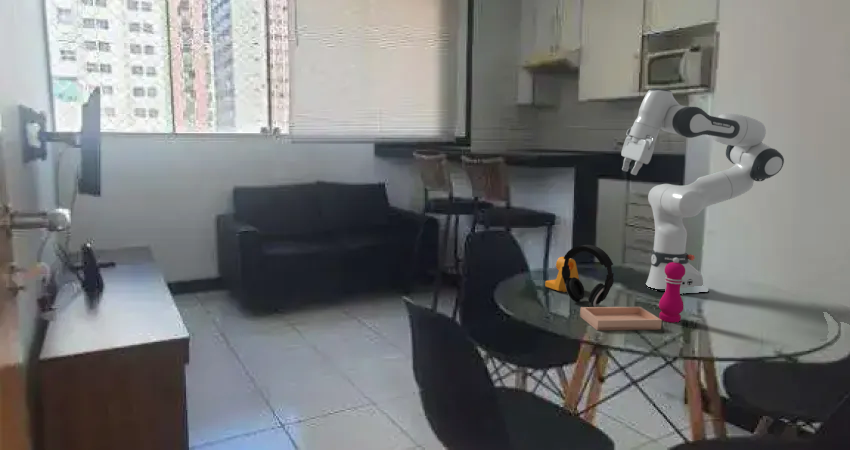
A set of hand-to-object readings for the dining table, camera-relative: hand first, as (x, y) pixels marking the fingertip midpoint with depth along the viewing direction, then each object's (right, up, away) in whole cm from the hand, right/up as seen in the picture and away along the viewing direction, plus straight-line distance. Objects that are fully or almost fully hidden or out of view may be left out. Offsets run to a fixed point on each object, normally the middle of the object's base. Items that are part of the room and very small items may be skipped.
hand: (628, 172), depth 206 cm
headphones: (-17, -45, -6) cm, 48 cm away
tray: (-11, -48, -24) cm, 55 cm away
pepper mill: (+6, -48, -19) cm, 52 cm away
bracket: (-21, -42, +13) cm, 48 cm away
